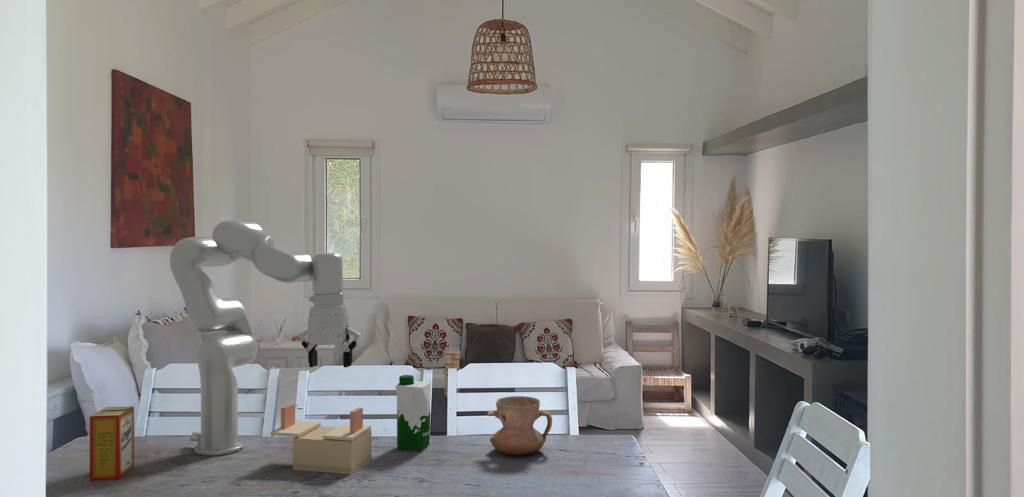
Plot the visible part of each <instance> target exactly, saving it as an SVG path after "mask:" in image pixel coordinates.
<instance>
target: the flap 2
mask: <svg viewBox="0 0 1024 497" xmlns="http://www.w3.org/2000/svg"><path fill="white" fill-rule="evenodd" d="M363 412H364V408H363V407H357V408H355V409H353V410H351V411H349V423H343V424H341V425H339V426H336V427H337V428H336V429H334V430H332V431H330V432H328V433H327V434H325V435H323V439H334V440H349V441H352V440H354V439H355V438H357V437H358V436H360V435H362V434H363V433H365V432H366V431H368V430H370V429H371V430H372V425H368V424H367V425H366V424H364V423H363V422H364V418H363V416H364V413H363Z"/></svg>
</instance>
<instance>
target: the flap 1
mask: <svg viewBox="0 0 1024 497" xmlns="http://www.w3.org/2000/svg"><path fill="white" fill-rule="evenodd" d="M321 425H322V424H321V421H317V422H316V421H305V420H304V421H303V420H296V403H289V404H286V405H284V406H282V407H281V408H280V427H278V428H276V429H274V430H271V431H270V436H277V437H280V436H281V437H293V438H294V437H299V436H301V435H303V434H305V433H307V432H309V431H311V430H313V429H315V428H317V427H319V426H321Z"/></svg>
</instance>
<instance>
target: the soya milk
mask: <svg viewBox="0 0 1024 497" xmlns="http://www.w3.org/2000/svg"><path fill="white" fill-rule="evenodd" d="M398 379H399V380H398V382H399V383H398V384H397V385H395V391H396V392H395V394H396V450H397V451H405V450H410V451H409V452H423V451H424V450H425V449H426V448H427V447H428V446H430V440H431V439H430V438H431V387H432V386H431V382H430V381H429V382H428V381H422V380H421V381H419V380H418V381H416V380H414V379H415V377H414V375H412V374H411V375H410V374H403V375H399V377H398ZM426 446H427V447H426ZM425 447H426V448H425ZM424 448H425V449H424ZM423 449H424V450H423Z"/></svg>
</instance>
